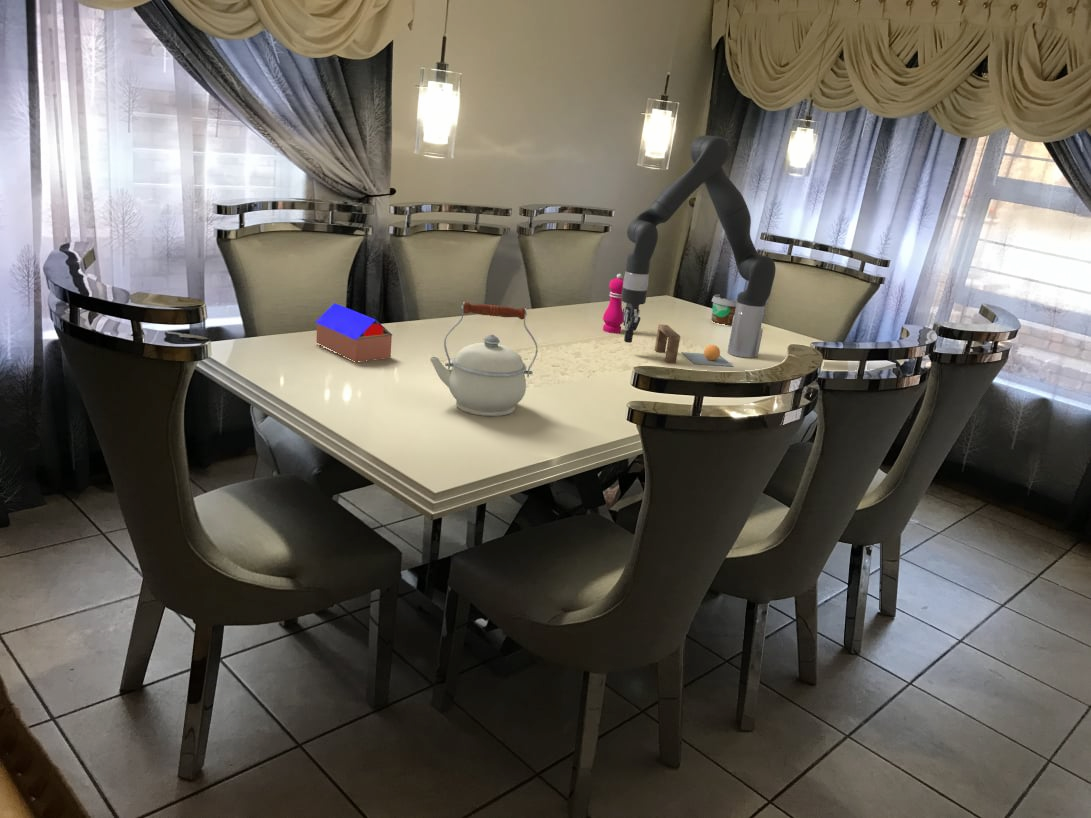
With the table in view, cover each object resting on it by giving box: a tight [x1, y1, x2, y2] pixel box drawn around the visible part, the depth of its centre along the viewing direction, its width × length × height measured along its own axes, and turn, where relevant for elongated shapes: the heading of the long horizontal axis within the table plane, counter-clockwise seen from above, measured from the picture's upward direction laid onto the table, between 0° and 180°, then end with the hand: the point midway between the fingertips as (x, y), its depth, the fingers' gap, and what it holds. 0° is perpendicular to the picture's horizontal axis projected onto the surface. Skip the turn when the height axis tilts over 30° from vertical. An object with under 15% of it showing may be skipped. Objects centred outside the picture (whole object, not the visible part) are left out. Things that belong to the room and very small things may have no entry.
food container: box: [711, 294, 737, 326], centre depth 326 cm, size 12×6×10 cm, turn 25°
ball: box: [703, 344, 721, 361], centre depth 271 cm, size 5×5×5 cm
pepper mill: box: [602, 273, 624, 334], centre depth 292 cm, size 7×7×20 cm
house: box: [315, 302, 393, 363], centre depth 235 cm, size 12×20×12 cm, turn 46°
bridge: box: [654, 323, 681, 364], centre depth 268 cm, size 3×14×9 cm, turn 9°
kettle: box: [429, 301, 538, 417], centre depth 200 cm, size 25×18×25 cm
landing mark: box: [681, 351, 734, 368], centre depth 272 cm, size 13×13×1 cm
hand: (627, 341), depth 266 cm, fingers closed
